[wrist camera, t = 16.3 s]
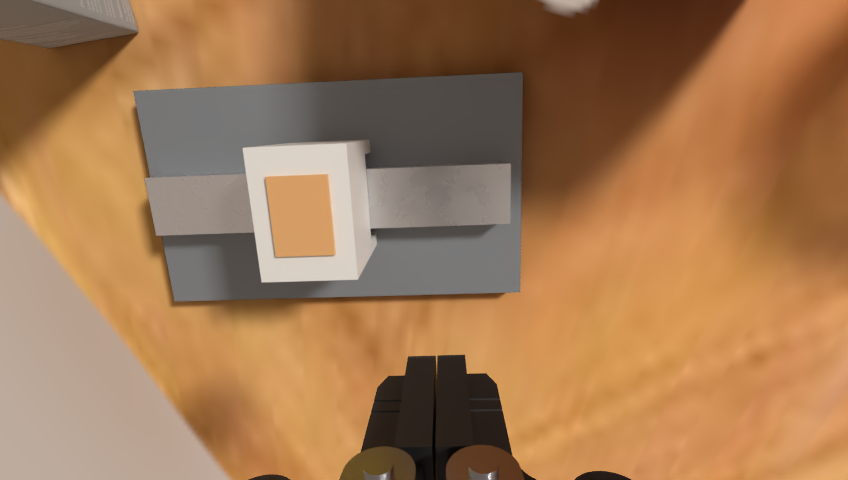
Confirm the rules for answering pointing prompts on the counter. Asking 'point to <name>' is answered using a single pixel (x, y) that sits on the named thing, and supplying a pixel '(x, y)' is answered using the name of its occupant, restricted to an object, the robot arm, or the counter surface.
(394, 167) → the rail
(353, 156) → the block
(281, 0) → the counter surface
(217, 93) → the rail board
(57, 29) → the skincare box
